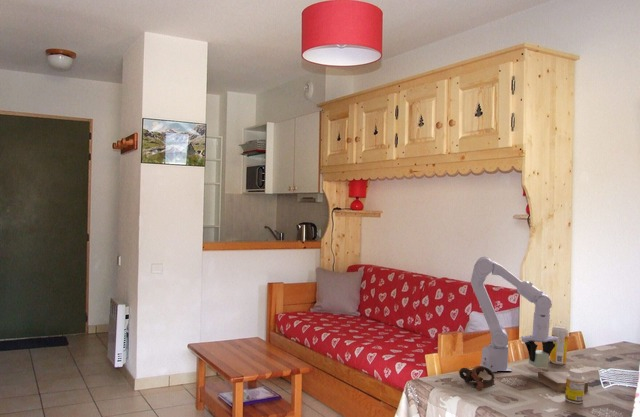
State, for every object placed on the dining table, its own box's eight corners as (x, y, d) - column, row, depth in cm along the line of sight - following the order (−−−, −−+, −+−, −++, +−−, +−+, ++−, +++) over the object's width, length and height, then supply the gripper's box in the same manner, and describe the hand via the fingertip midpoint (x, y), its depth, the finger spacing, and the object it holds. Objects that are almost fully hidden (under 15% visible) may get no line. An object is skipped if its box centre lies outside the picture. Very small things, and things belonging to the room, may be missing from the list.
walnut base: (557, 391, 194) (558, 383, 193) (537, 380, 205) (538, 372, 205) (587, 391, 196) (588, 382, 196) (566, 379, 208) (566, 371, 208)
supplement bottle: (567, 396, 189) (569, 367, 188) (585, 401, 185) (587, 371, 185) (562, 400, 184) (564, 370, 184) (580, 405, 181) (582, 374, 181)
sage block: (536, 367, 209) (537, 353, 209) (528, 363, 214) (529, 350, 214) (548, 367, 210) (548, 354, 210) (540, 363, 215) (541, 350, 215)
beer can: (562, 361, 233) (565, 326, 233) (567, 365, 227) (570, 329, 227) (548, 360, 234) (550, 324, 233) (552, 364, 228) (555, 328, 227)
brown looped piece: (489, 384, 199) (497, 368, 195) (487, 403, 191) (496, 387, 187) (456, 372, 201) (463, 356, 197) (453, 391, 193) (461, 374, 189)
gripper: (529, 327, 206) (527, 363, 206) (564, 328, 209) (561, 363, 209) (519, 323, 213) (517, 358, 213) (553, 323, 216) (550, 358, 216)
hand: (538, 360), depth 212 cm, fingers closed on sage block, 5 cm apart
